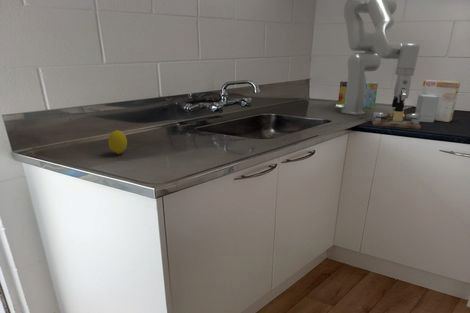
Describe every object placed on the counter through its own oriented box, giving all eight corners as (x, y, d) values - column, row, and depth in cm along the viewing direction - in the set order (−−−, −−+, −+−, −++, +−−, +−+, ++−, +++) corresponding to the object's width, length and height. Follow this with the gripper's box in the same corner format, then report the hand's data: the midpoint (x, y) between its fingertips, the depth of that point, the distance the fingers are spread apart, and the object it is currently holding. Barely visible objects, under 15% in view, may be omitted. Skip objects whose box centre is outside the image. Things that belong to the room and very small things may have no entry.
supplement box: (434, 122, 168) (439, 96, 164) (418, 121, 169) (423, 96, 165) (428, 119, 175) (434, 94, 171) (413, 118, 176) (418, 94, 172)
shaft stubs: (373, 123, 159) (375, 111, 158) (371, 120, 167) (373, 108, 165) (420, 127, 154) (423, 114, 153) (416, 123, 162) (419, 111, 160)
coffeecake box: (451, 120, 173) (461, 81, 167) (448, 122, 168) (458, 82, 162) (419, 115, 182) (427, 78, 176) (416, 117, 177) (423, 79, 171)
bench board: (373, 125, 159) (373, 122, 158) (371, 120, 168) (371, 118, 167) (420, 128, 154) (420, 126, 153) (415, 124, 163) (416, 121, 162)
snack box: (374, 107, 205) (378, 82, 201) (374, 109, 201) (378, 83, 196) (338, 104, 213) (341, 79, 209) (337, 105, 209) (340, 80, 204)
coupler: (402, 121, 162) (404, 109, 160) (404, 124, 157) (406, 111, 155) (387, 120, 163) (390, 108, 161) (389, 122, 159) (391, 110, 157)
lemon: (120, 150, 112) (118, 126, 109) (131, 153, 109) (129, 129, 106) (105, 154, 108) (103, 130, 105) (117, 158, 105) (114, 132, 102)
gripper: (418, 74, 144) (409, 114, 150) (410, 70, 160) (402, 106, 166) (399, 73, 146) (391, 112, 152) (393, 69, 162) (385, 105, 168)
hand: (396, 109), depth 159 cm, fingers open, 9 cm apart
